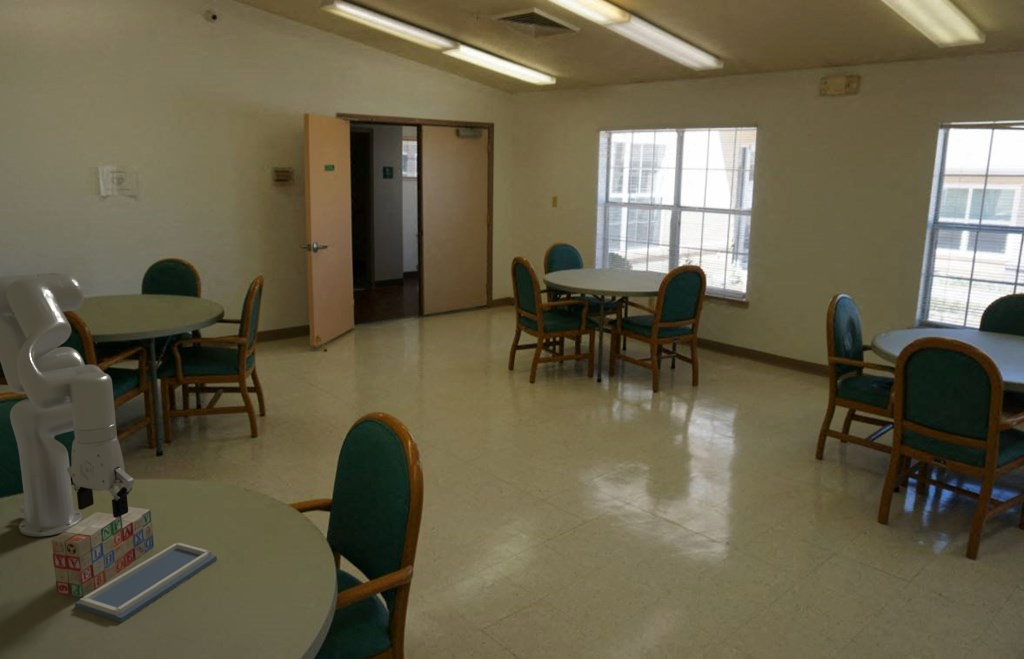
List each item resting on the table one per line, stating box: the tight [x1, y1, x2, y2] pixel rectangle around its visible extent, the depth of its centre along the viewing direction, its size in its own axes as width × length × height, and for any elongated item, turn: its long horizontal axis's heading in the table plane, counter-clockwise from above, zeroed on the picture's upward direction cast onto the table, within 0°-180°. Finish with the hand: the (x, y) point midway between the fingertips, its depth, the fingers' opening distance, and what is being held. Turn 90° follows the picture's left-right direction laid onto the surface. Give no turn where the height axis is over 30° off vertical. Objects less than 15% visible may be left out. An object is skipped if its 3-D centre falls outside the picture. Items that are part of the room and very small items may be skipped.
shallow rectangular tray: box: [74, 541, 217, 623], centre depth 154 cm, size 12×25×2 cm, turn 159°
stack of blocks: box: [51, 506, 155, 599], centre depth 157 cm, size 21×6×12 cm, turn 169°
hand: (103, 511), depth 155 cm, fingers open, 9 cm apart
